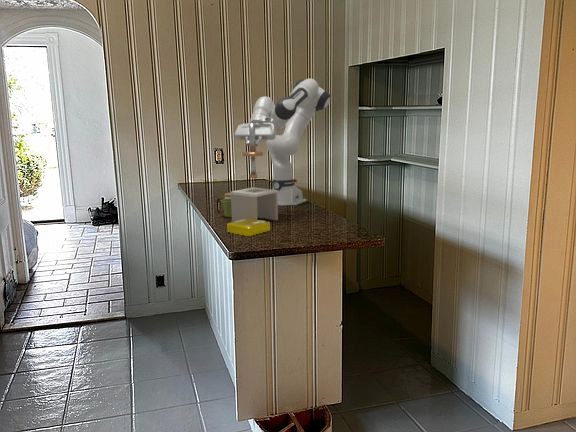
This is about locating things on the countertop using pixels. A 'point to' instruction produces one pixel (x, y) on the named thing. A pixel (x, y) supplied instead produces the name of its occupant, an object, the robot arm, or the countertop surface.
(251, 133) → the peg
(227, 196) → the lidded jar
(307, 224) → the countertop surface
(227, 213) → the plant pot
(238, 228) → the element tile
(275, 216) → the slotted white pedestal
